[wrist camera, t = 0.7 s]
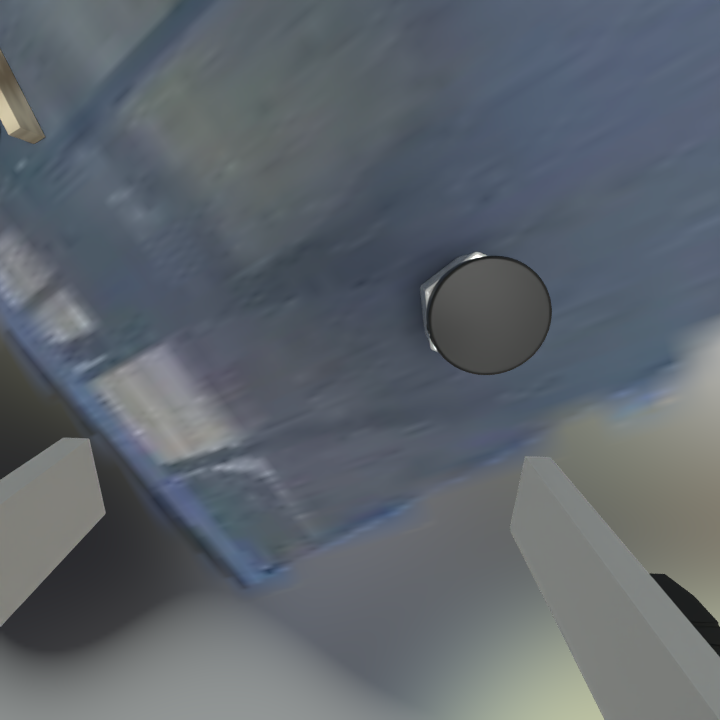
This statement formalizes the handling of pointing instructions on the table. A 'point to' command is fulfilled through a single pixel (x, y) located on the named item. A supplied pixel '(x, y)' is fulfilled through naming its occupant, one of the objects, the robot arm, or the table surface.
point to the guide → (16, 108)
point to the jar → (485, 313)
